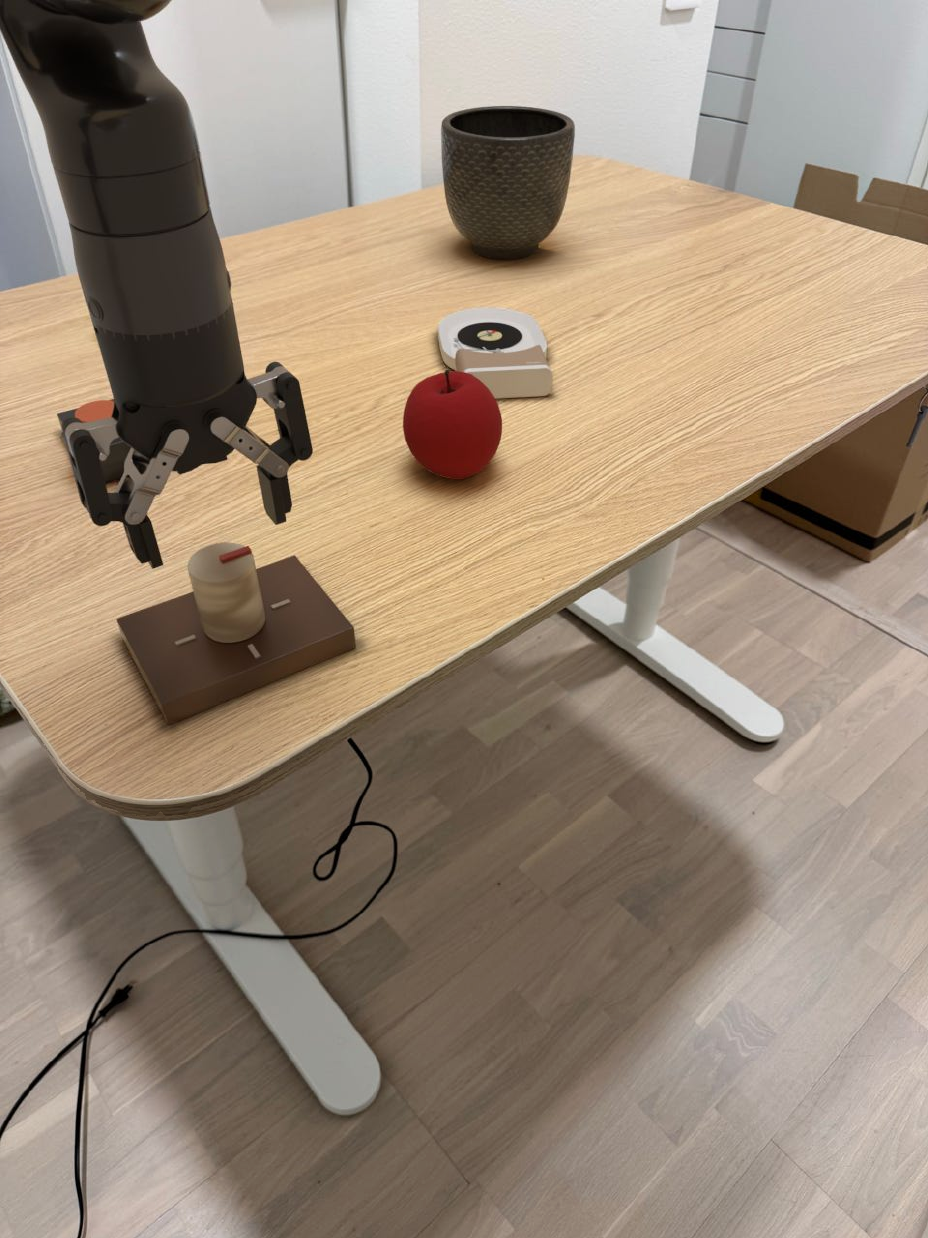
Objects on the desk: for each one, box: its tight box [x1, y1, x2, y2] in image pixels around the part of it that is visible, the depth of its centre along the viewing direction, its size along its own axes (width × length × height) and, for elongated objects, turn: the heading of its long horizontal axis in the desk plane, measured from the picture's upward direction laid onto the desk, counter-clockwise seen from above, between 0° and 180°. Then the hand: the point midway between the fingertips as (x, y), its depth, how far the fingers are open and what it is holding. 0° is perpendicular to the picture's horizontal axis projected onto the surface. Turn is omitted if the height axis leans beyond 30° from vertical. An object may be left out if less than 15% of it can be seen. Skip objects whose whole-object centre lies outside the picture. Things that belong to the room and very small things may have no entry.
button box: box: [56, 398, 131, 483], centre depth 85 cm, size 12×12×4 cm
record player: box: [437, 306, 554, 400], centre depth 100 cm, size 12×3×20 cm
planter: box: [440, 105, 576, 261], centre depth 121 cm, size 17×17×16 cm
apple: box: [402, 369, 503, 480], centre depth 81 cm, size 9×9×10 cm
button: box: [75, 399, 114, 423], centre depth 81 cm, size 4×4×2 cm
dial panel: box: [115, 554, 357, 726], centre depth 65 cm, size 14×10×2 cm
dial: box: [186, 541, 265, 643], centre depth 63 cm, size 4×4×6 cm
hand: (216, 539), depth 60 cm, fingers open, 8 cm apart
